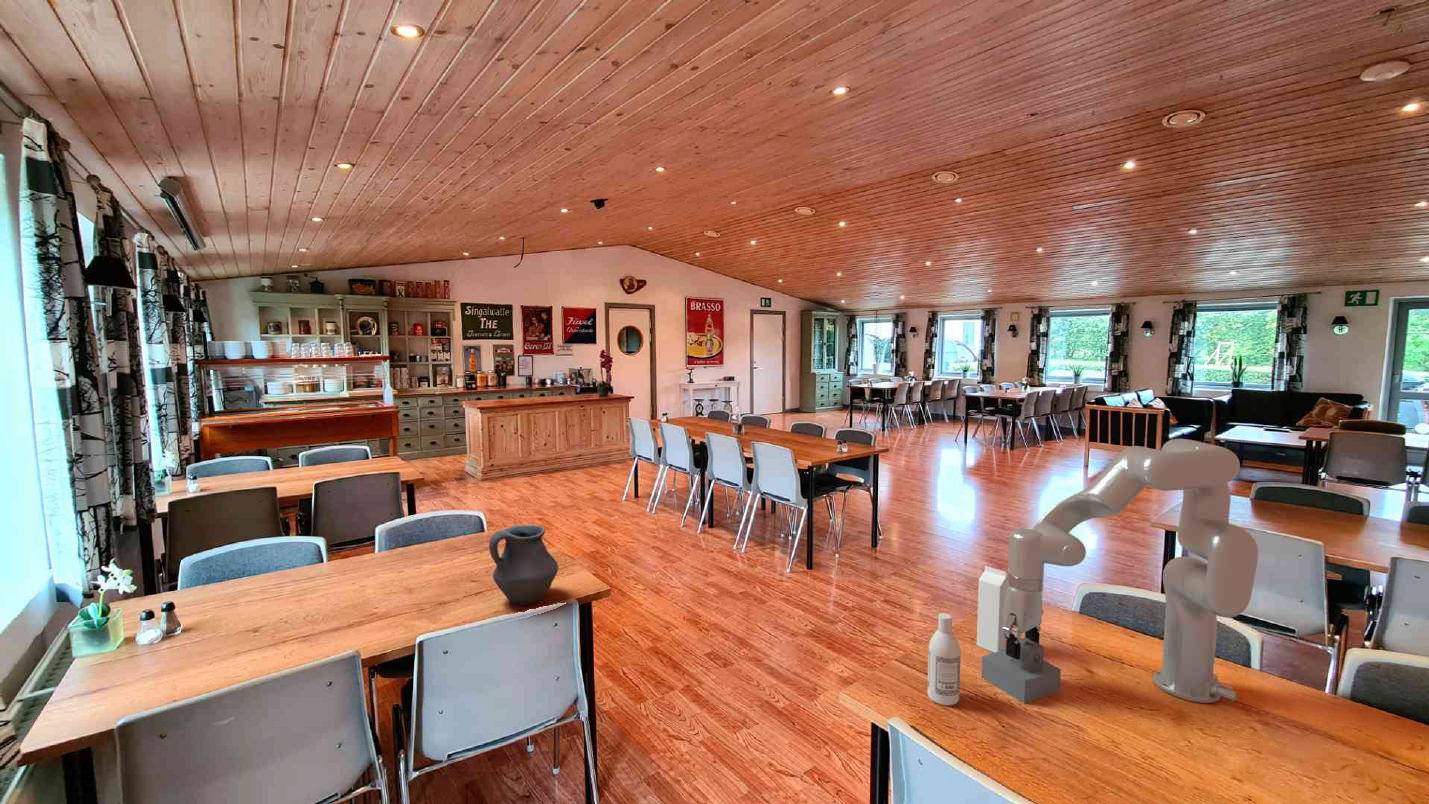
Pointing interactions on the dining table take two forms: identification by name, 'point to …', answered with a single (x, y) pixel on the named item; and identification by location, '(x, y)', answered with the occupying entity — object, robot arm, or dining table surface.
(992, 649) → the milk
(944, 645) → the bath foam
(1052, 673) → the grey block
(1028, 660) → the dice cube
